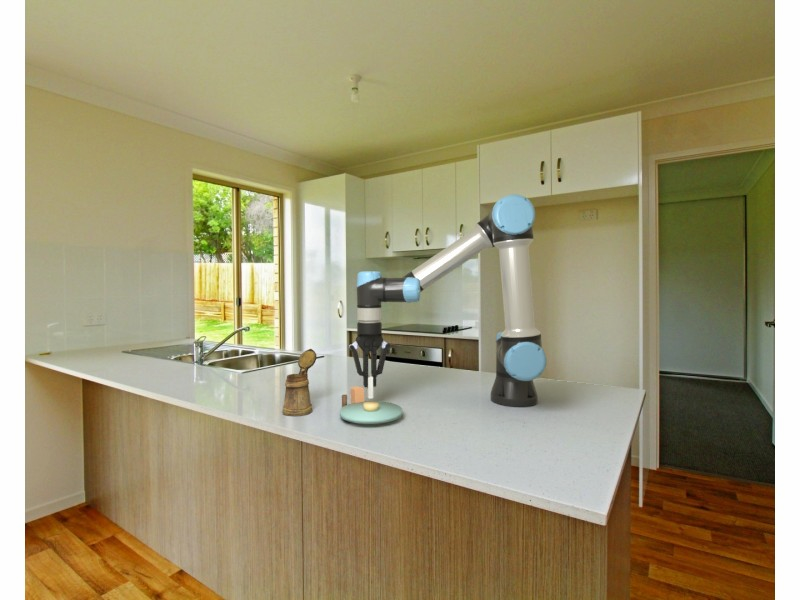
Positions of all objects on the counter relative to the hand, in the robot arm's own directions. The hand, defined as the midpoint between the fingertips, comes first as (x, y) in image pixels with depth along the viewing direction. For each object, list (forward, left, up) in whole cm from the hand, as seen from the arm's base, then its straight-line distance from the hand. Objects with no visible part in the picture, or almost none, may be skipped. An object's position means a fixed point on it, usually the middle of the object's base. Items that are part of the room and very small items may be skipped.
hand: (369, 397), depth 135 cm
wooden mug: (+21, +4, -4) cm, 21 cm away
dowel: (+7, +4, -4) cm, 9 cm away
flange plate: (-1, +8, -2) cm, 8 cm away
